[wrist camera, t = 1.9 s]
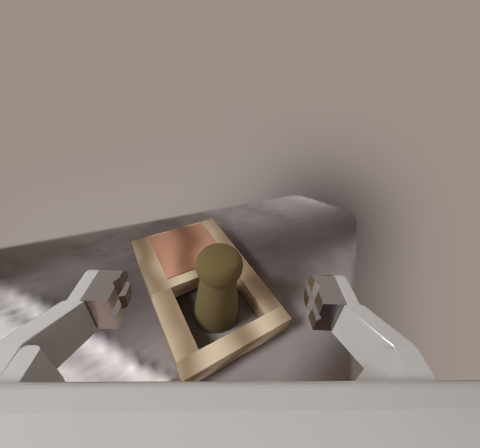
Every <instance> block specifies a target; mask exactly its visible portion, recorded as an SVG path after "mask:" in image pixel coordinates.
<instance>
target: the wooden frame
mask: <svg viewBox="0 0 480 448" xmlns="http://www.w3.org/2000/svg"><path fill="white" fill-rule="evenodd" d="M131 243H132V247H133V251H134V254H135V257H136V260H137V262H138V265H139V268H140V270H141V273H142V276H143V279H144V281H145V284H146V287H147V289H148V292H149V295H150V298H151V300H152V303H153V306H154V308H155V311H156V314H157V317H158V319H159V322H160V325H161V327H162V330H163V333H164V336H165V338H166V341H167V344H168V346H169V349H170V352H171V355H172V357H173V360H174V363H175V365H176V368H177V371H178V374H179V376H180V379H181V381H200V380H202V379H204V378H206V377H207V376H209V375H211V374H212V373H214V372H216V371H217V370H219V369H221V368H222V367H224V366H226V365H227V364H229V363H231V362H232V361H234V360H236V359H237V358H239V357H241V356H242V355H244V354H246V353H248V352H249V351H251V350H253V349H254V348H256V347H258V346H259V345H261V344H263V343H264V342H266V341H268V340H269V339H271V338H273V337H274V336H276V335H278V334H279V333H281V332H283V331H284V330H286V329H288V326H289V324H290V322H291V319H292V318H291V317H290V315H289V314H288V313H287V312H286V310H285V309H284V308H283V307H282V305H281V304H280V303H279V302H278V300H277V299H276V298H275V296H274V295H273V294H272V293H271V291H270V290H269V289H268V288H267V286H266V285H265V284H264V283H263V281H262V280H261V279H260V277H259V276H258V275H257V274H256V272H255V271H254V270H253V269H252V267H251V266H250V265H249V264H248V262H247V261H246V260H245V258H244V257H243V256H242V255H241V253H240V252H239V251H238V250H237V248H236V247H235V246H234V245H233V243H232V242H231V241H230V240H229V238H228V237H227V236H226V234H225V233H224V232H223V231H222V229H221V228H220V227H219V226H218V224H217V223H216V222H215V221H214V219H213V218H212V219H209V220H205V221H201V222H198V223H194V224H191V225H187V226H183V227H180V228H176V229H173V230H169V231H165V232H162V233H158V234H154V235H151V236H147V237H144V238H140V239H136V240H133V241H131ZM215 243H224V244H228V245H230V246H233V247H234V248H235V249H236V250H237V251H238V252H239V253H240V255H241V257H242V261H243V270H242V274H241V276H240V278H239V279H238V281H237V287H238V289H239V290H240V292H241V293H242V294H243V296H244V297H245V299H246V300H247V302H248V303H249V305H250V306H251V308H252V309H253V311H254V312H255V313H256V315H257V316H258V319H256V320H254V321H252V322H250V323H248V324H246V325H245V326H243V327H241V328H239V329H237V330H235V331H233V332H231V333H230V334H228V335H226V336H224V337H222V338H220V339H218V340H216V341H215V342H213V343H211V344H209V345H207V346H205V347H203V348H201V349H198V347H197V345H196V342H195V340H194V338H193V336H192V334H191V331H190V329H189V327H188V325H187V323H186V320H185V318H184V316H183V314H182V311H181V309H180V307H179V305H178V303H177V300H176V298H175V297H178V296H180V295H183V294H185V293H188V292H190V291H193V290H195V289H197V288H198V286H199V281H200V279H199V277H198V275H197V272H196V260H197V257H198V255H199V253H200V252H201V251H202V250H203V249H204V248H205V247H207V246H209V245H211V244H215Z"/></svg>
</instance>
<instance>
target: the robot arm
mask: <svg viewBox="0 0 480 448" xmlns="http://www.w3.org/2000/svg"><path fill="white" fill-rule="evenodd" d="M127 278H128V275H127V272H126V271H113V270H88V271H86V272H85V273H84V275H83V276H82V278H81V279H80V281H79V282H78V284H77V285H76V287H75V288H74V290H73V291H72V293H71V294H70V296H69V297H68V299H67V300H66V301H61V302H60V303H58V304H57V305H55V306H54V307H52V308H50V309H49V310H47V311H46V312H44V313H43V314H41V315H40V316H38V317H36V318H35V319H33V320H32V321H30V322H29V323H27V324H25V325H24V326H22V327H21V328H19V329H18V330H16V331H15V332H13V333H11V334H10V335H8V336H7V337H5V338H4V339H2V340H1V341H0V448H480V380H478V381H477V380H476V381H438V380H437V379H436V377H435V376H434V374H433V372H432V371H431V369H430V368H429V366H428V364H427V363H426V361H425V360H424V358H423V356H422V355H421V353H420V352H419V350H418V348H417V347H416V346H415V345H414V344H412V343H411V342H410V341H408V340H407V339H406V338H405V337H403V336H402V335H401V334H400V333H398V332H397V331H396V330H395V329H393V328H392V327H391V326H389V325H388V324H387V323H386V322H384V321H383V320H382V319H380V318H379V317H378V316H376V315H375V314H374V313H373V312H371V311H370V310H369V309H368V308H366V307H365V306H364V305H360V304H359V302H358V300H357V298H356V296H355V294H354V292H353V290H352V288H351V286H350V284H349V283H348V281H347V279H346V277H345V276H344V275H310V276H309V279H308V283H309V285H308V286H307V287H306V288H305V292H304V301H305V305H306V308H307V309H308V310H309V311H310V314H309V319H310V322H311V326H312V329H313V330H325V331H332V333H333V334H334V335H335V336H336V337H337V338H338V340H339V341H340V342H341V343H342V344H343V345H344V346H345V348H346V349H347V350H348V351H349V352H350V353H351V354H352V355H353V357H354V358H355V359H356V360H357V361H358V362H359V363H360V364H361V366H362V367H363V368H364V369H363V371H362V372H361V373H360V375H359V376H358V377H357V379H356V381H174V382H64V381H65V380H64V378H63V376H62V375H61V374H60V372H59V371H58V370H57V368H58V367H59V366H60V365H61V364H62V363H63V362H64V361H65V360H67V359H68V358H69V357H70V356H71V355H72V354H73V353H74V352H75V351H76V350H77V349H78V348H79V347H80V346H81V345H82V344H83V343H84V342H85V341H87V340H88V339H89V338H90V337H91V336H92V335H93V334H94V333H95V332H96V331H97V330H98V329H111V328H119V326H120V324H121V321H122V319H123V317H124V312H123V309H124V308H125V307H127V306H128V304H129V302H130V299H131V285H130V283H128V282H127Z"/></svg>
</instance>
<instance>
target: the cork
mask: <svg viewBox="0 0 480 448" xmlns="http://www.w3.org/2000/svg"><path fill="white" fill-rule="evenodd" d="M242 270H243V261H242V257H241V255H240V253H239V252H238V251H237V250H236V249H235V248H234V247H233V246H230V245H228V244H224V243H215V244H211V245H209V246H207V247H205V248H204V249H203V250H202V251H201V252H200V253H199V255H198V257H197V260H196V272H197V275H198V277H199V279H200V281H199V286H198V291H197V296H196V301H195V306H194V318H195V321H196V323H197V324H198V326H199V327H200V328H201V329H203V330H205V331H206V332H210V333H222V332H225V331H227V330H229V329H230V328H232V327H233V326H234V325H235V323H236V321H237V320H238V315H239V306H238V289H237V281H238V279H239V278H240V276H241V274H242Z"/></svg>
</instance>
